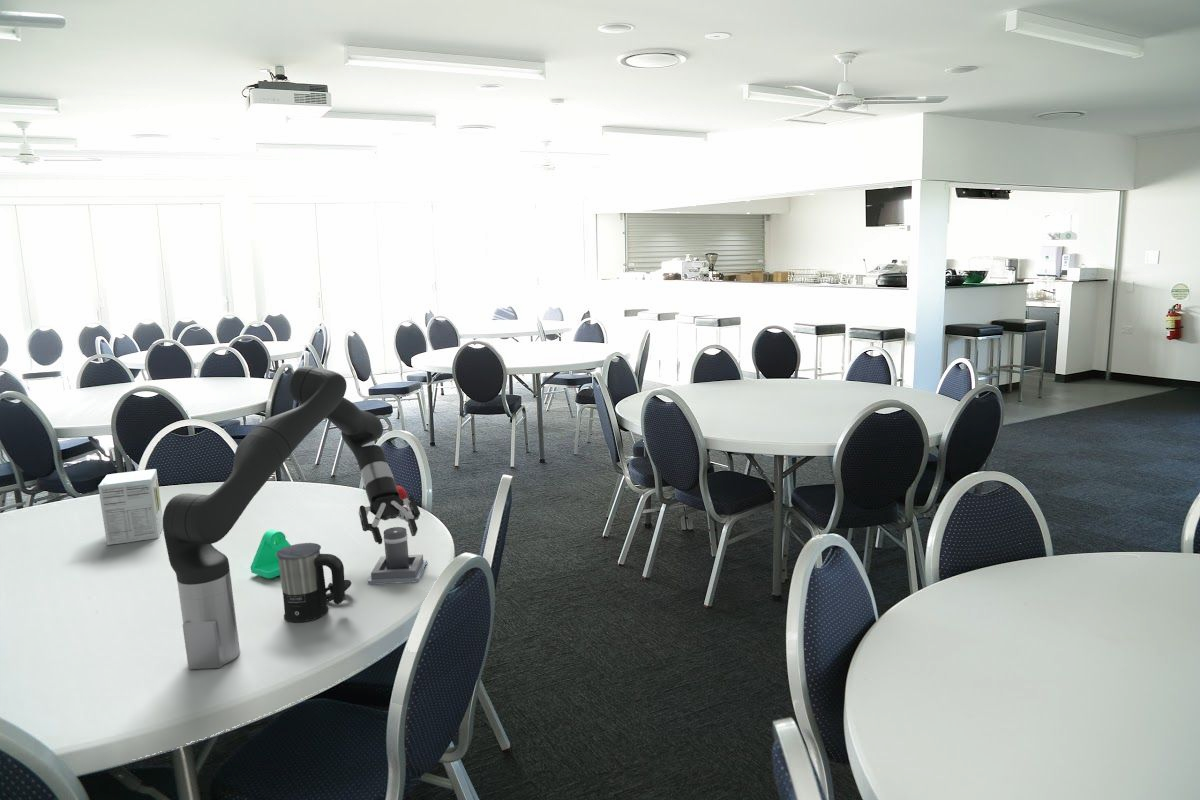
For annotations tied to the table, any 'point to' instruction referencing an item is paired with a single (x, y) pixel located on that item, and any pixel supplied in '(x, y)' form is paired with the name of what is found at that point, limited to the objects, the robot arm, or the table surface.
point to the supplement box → (131, 506)
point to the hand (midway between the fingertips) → (397, 538)
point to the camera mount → (269, 554)
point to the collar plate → (398, 571)
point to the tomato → (402, 492)
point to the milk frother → (309, 581)
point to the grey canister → (396, 548)
